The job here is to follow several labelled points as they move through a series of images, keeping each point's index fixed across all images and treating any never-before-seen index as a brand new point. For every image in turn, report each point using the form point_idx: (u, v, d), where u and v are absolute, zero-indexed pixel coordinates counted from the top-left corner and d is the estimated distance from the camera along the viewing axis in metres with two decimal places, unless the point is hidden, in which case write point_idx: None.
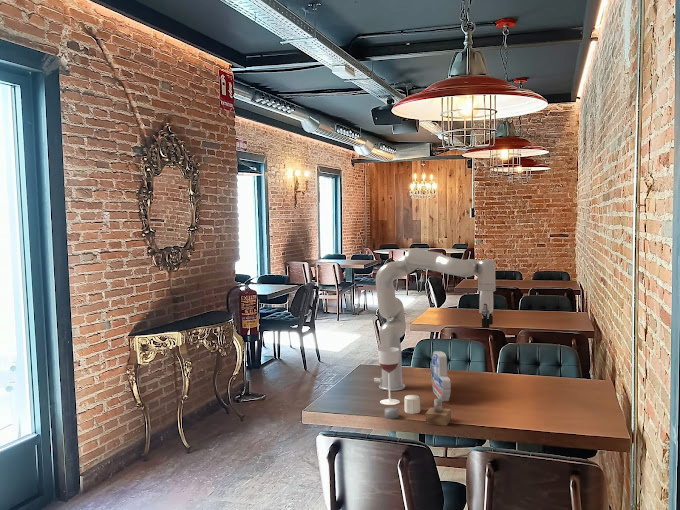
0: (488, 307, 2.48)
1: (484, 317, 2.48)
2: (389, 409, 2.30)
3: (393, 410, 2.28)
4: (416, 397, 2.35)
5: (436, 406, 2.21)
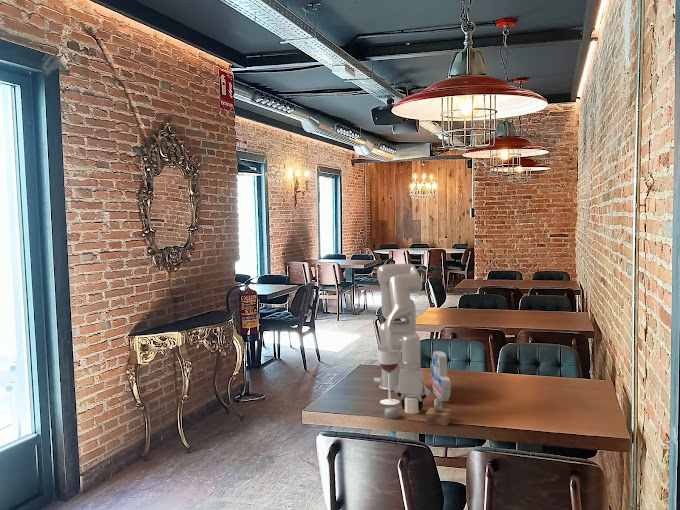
0: None
1: (423, 398, 2.33)
2: (389, 409, 2.30)
3: (393, 410, 2.28)
4: (416, 397, 2.35)
5: (436, 406, 2.21)
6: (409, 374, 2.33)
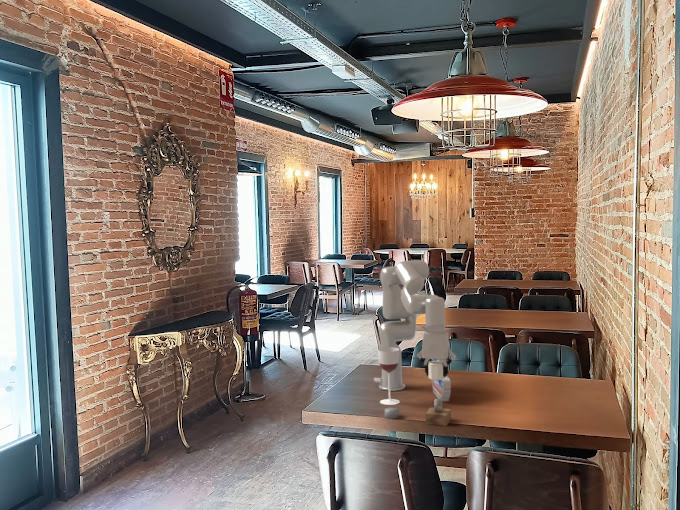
0: (449, 350, 2.21)
1: None
2: (389, 409, 2.30)
3: (393, 410, 2.29)
4: (441, 362, 2.21)
5: (436, 406, 2.21)
6: (433, 338, 2.19)
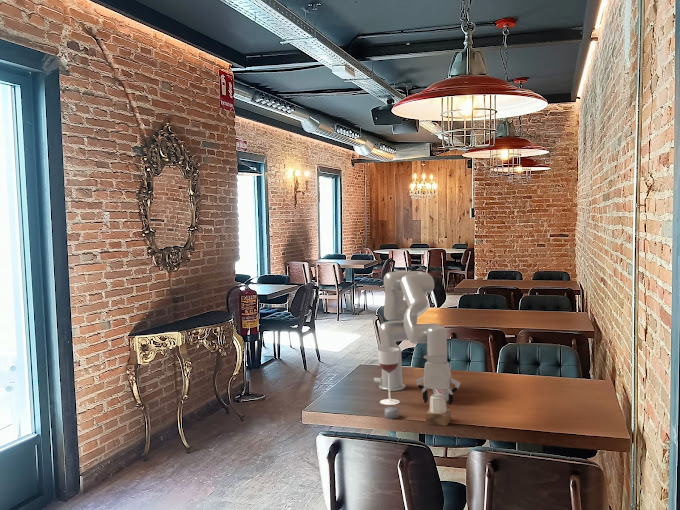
0: None
1: (454, 392, 2.19)
2: (389, 409, 2.29)
3: (394, 410, 2.29)
4: (442, 396, 2.21)
5: None
6: (435, 368, 2.19)
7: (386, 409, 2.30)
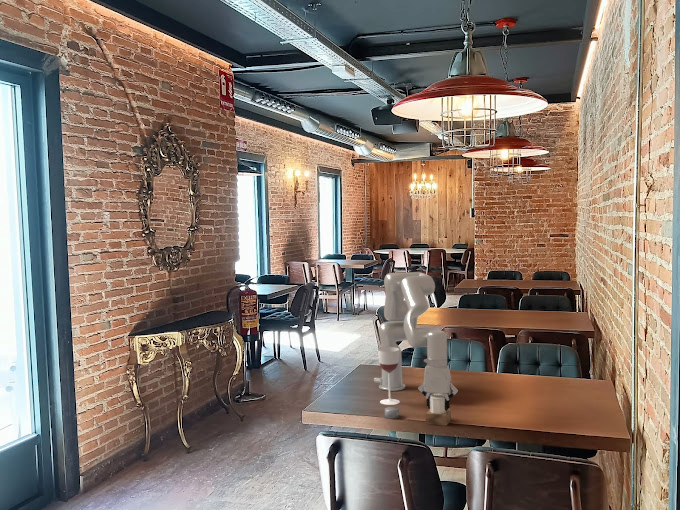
0: None
1: (450, 397, 2.20)
2: (389, 409, 2.29)
3: (395, 409, 2.29)
4: (442, 396, 2.21)
5: None
6: (435, 372, 2.19)
7: (386, 409, 2.29)
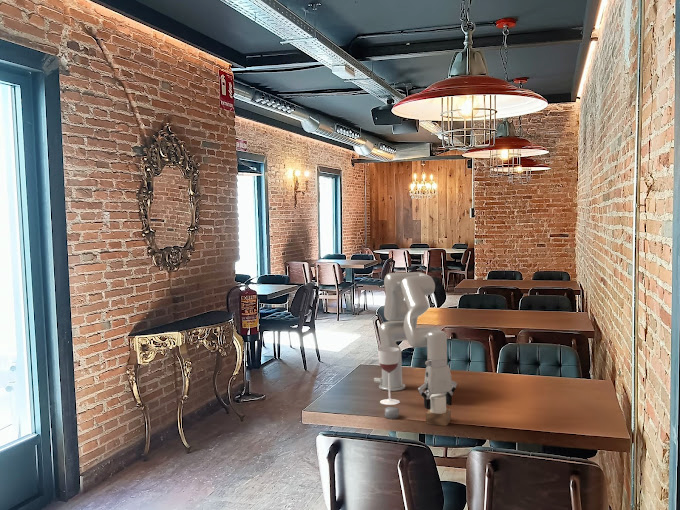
0: None
1: None
2: (390, 409, 2.29)
3: (395, 409, 2.29)
4: (442, 395, 2.23)
5: None
6: (441, 372, 2.19)
7: (387, 409, 2.29)
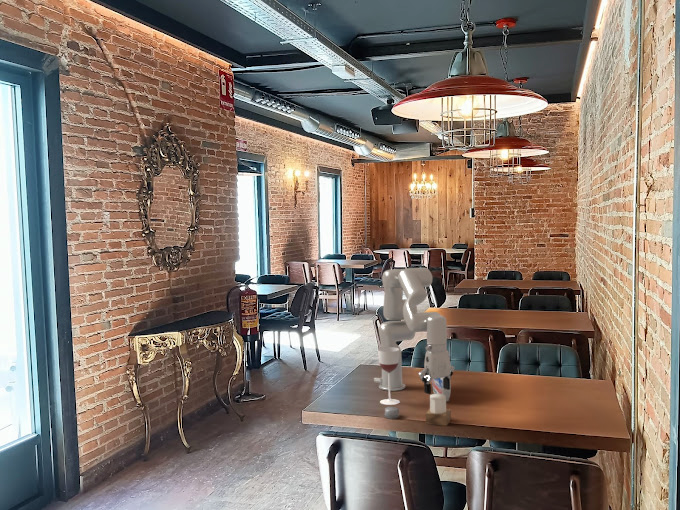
0: None
1: None
2: (391, 409, 2.29)
3: (395, 408, 2.30)
4: (437, 394, 2.24)
5: None
6: (441, 356, 2.19)
7: (389, 410, 2.28)
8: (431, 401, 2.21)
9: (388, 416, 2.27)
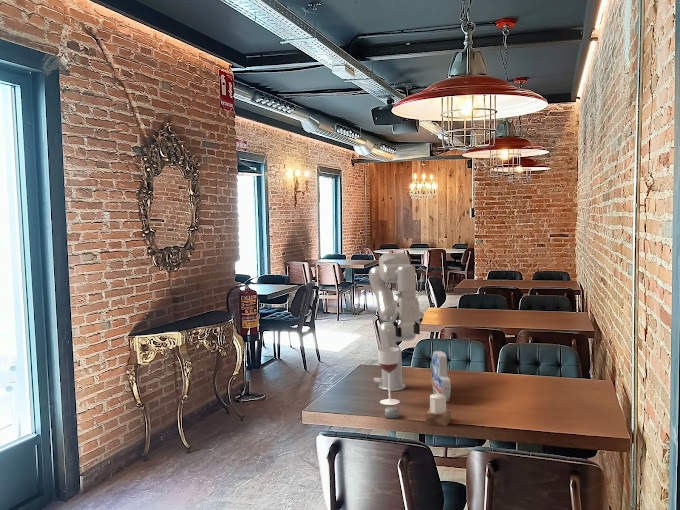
0: None
1: None
2: (392, 409, 2.29)
3: (393, 408, 2.31)
4: (437, 394, 2.24)
5: None
6: (411, 302, 2.38)
7: (393, 410, 2.28)
8: (431, 401, 2.21)
9: (393, 416, 2.27)
